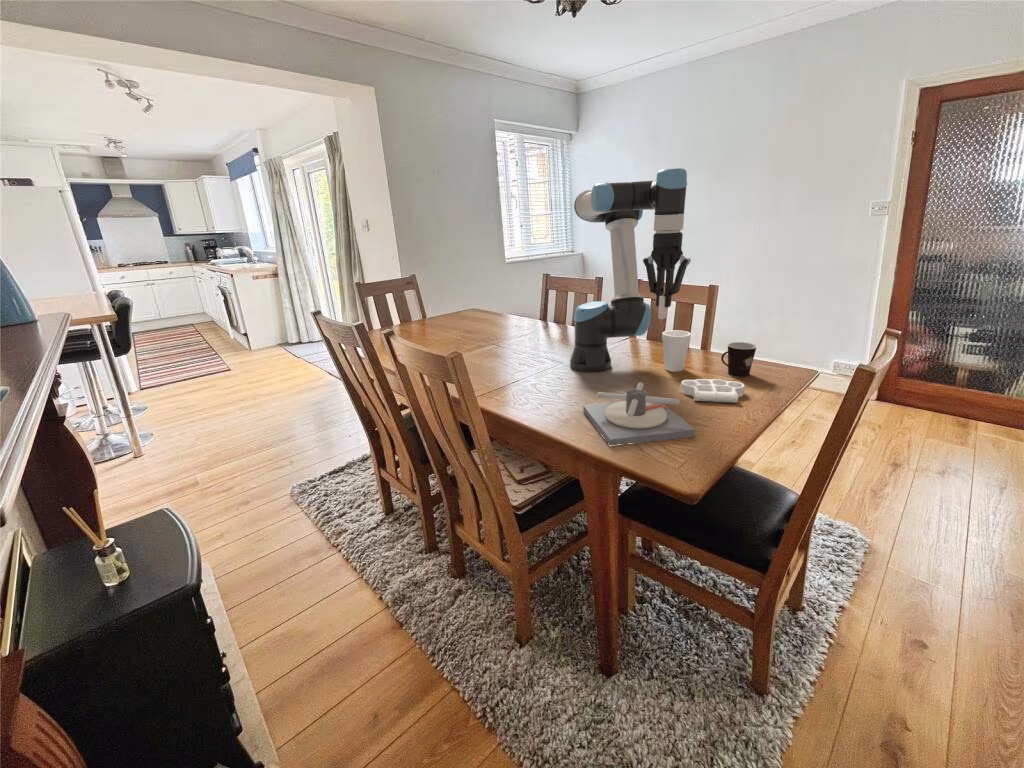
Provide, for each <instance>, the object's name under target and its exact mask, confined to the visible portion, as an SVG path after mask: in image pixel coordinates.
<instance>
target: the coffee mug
mask: <svg viewBox="0 0 1024 768" xmlns="http://www.w3.org/2000/svg"><path fill="white" fill-rule="evenodd" d="M756 350H757V344H754V343H750V342H741V341H740V342H737V341H734V342H730V343H728V344H727V351H725V352H724V353H722V355H721V360H720V361H721V362H722V363H723V364H724V365H725V366H726V367H727V374H728V375H729V376H731V375H732V377H734V376H736V378H746V376H747V377H749V376H750V373H751V369H752V365H753V362H754V359H755V353H756ZM725 355H727V363H726V362H725V360H724V357H725Z"/></svg>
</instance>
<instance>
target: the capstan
mask: <svg viewBox="0 0 1024 768" xmlns="http://www.w3.org/2000/svg"><path fill="white" fill-rule="evenodd" d="M643 388H644V383H643V382H638V383H637V386H636V388H635V389H629V390H627V391H626V393H615V392H603V391H598V392H597V394H596V396H597V398H598V399H607V400H618V401H615V402H616V403H613V404H611V405H609V406H608V407H606V409H605V417H606V419H607V420H608V421H610V422H611V423H613V424H616V425H618V426H622V427H627V428H635V429H645V428H652V427H656V426H659V425H661V424H663V423H664V422H665V421H666V419H667V413H666V411H665V410H664V409H663V408H662V407H661V406H662V405H661V404H664V405H671V406H672V405H674V406H678V405H680V403H681V401H680V399H679V398H673V397H661V396H660V397H659V396H648V395H647V392H646V391H644V390H643ZM619 400H620V401H621V402H619ZM648 402H649V403H648ZM652 403H658V404H652ZM659 403H660V404H659Z"/></svg>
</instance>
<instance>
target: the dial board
mask: <svg viewBox="0 0 1024 768" xmlns="http://www.w3.org/2000/svg"><path fill="white" fill-rule="evenodd" d="M621 401H622V400H620V401H619V400H618V402H621ZM616 402H617V401H611V402H610V401H609V402H602V403H594V404H593V403H592V404H584V405H582V406H583V410H582V411H584V412H585V413H584V412H583V413H584V415H585V414H586V415H587V416H588V417H587V416H586V415H585V416H586V417H587V419H588V418H589V419H590V420H591V421H590V420H589V419H588V420H589V421H590V423H591V422H592V423H593V424H594V425H595V426H594V425H593V424H592V423H591V424H592V425H593V426H594V428H595V427H596V428H597V429H598V430H599V432H600V433H601V434H602V435H603V437H604V438H605V440H606V441H607V442H608V443H609V445H617V444H628V443H638V444H645V443H644V442H646V443H652V442H651V441H655V442H660V441H661V440H663V441H670V439H671V440H679V439H678V438H680V439H686V438H687V437H688V438H694V437H695V433H696V429H695V428H694V427H693V426H691V425H690V424H689V423H688V422H687V421H685V420H684V419H683V418H682V417H680V416H679V415H678V414H677V413H675V411H673V410H672V409H671V408H669V407H668V406H667V404H661V405H662V406H661V407H662V408H663V409H664V410H665V411H666V413H667V419H666V421H665V422H664V423H663V424H661V425H659V426H656V427H652V428H645V429H635V428H627V427H622V426H618V425H616V424H613V423H611V422H610V421H608V420H607V419H606V417H605V409H606V407H608V406H609V405H611V404H613V403H616ZM648 403H649V402H648ZM652 404H658V403H652ZM659 404H660V403H659ZM596 428H595V429H596ZM597 429H596V430H597ZM598 430H597V431H598ZM599 432H598V433H599ZM600 433H599V434H600ZM601 434H600V435H601ZM603 437H602V438H603ZM604 438H603V439H604ZM605 440H604V441H605ZM606 441H605V442H606ZM607 442H606V443H607ZM661 442H662V441H661ZM609 445H608V446H609Z"/></svg>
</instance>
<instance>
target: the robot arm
mask: <svg viewBox="0 0 1024 768" xmlns="http://www.w3.org/2000/svg"><path fill="white" fill-rule="evenodd" d="M687 173H688V171H687V169H685V168H678V167H677V168H665V169H660V170H658V171H657V173H656V179H655V180H640V181H627V182H626V181H625V182H624V181H623V182H602V183H596V184H594V185H593V187H592V189H588V190H587V189H585V190H584V191H582V192H581V193H579V194H578V195H577V196H576V198H575V200H574V204H573V208H574V212H575V215H576V216H577V217H579V219H581V220H582V221H586V222H588V223H605V229H606V230H607V231H608V232H609V234H610V245H611V246H610V248H611V249H610V250H611V261H612V275H613V289H614V291H613V293H614V296H613V298H612V299H611V300H610V305H609V304H608V302H607V301H602V300H601V301H597V300H596V301H590V302H586V303H582V304H580V305H578V306H577V307H576V308H575V311H574V320H573V321H574V347H573V350H572V353H571V356H570V360H569V364H570V365H569V366H570V368H571V369H572V370H575V371H578V372H584V373H585V372H586V373H587V372H588V373H593V372H595V373H596V372H603V371H607V370H609V369H611V367H612V358H611V355H610V352H609V347H608V343H607V342H608V341H607V340H608V339H610V338H611V339H612V338H624V337H625V338H626V337H631V338H634V337H638V336H639V337H640V336H642V335H644V334H647V333H646V332H647V331H648V329H649V327H650V323H651V314H652V313H651V307H650V304H649V303H647V302H645V301H644V300H645V299H644V296H642V294H640V292H639V291H640V290H639V279H638V266H637V265H638V262H637V261H638V260H637V249H636V248H637V247H636V234H635V233H636V231H635V228H636V227H637V226H638V225H639V221H640V220H641V218H642V217H643V212H644V211H645V210H649V211H652V210H654V221H653V232H655V233H653V236H652V237H653V238H652V239H653V240H652V251H651V252H650V253H651V254H650V255H649V256H648V257H645V258H643V259H642V263H643V264H644V266H645V269H646V270H645V271H646V274H647V281H648V287H649V292H650V293H651V294H654V295H656V297H655V299H656V300H655V301H656V302H655V306H656V307H658V315H657V319H658V320H665V319H667V318H668V308H671V305H672V297H673V295H675V294H678V293H679V292H680V289H681V286H682V283H683V280H684V276H685V274H686V270H687V267H688V266H689V264H690V263H691V261H692V260H691V258H690V257H686V256H684V252H683V249H682V246H683V232H681V231H682V230H683V229H684V219H685V209H686V207H685V206H686V205H685V204H686V198H687V197H686V195H687V186H688V182H687V181H688V180H687V179H688V174H687ZM654 263H655V264H656V270H655V266H654ZM678 263H679V266H678V268H677V271H676V274H675V269H676V265H677V264H678ZM674 274H675V275H674ZM674 277H675V278H674Z"/></svg>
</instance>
